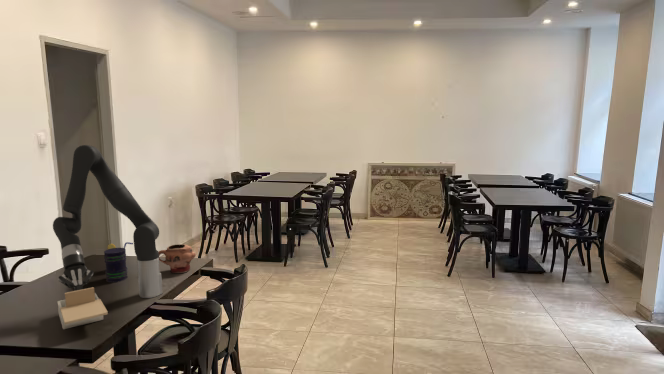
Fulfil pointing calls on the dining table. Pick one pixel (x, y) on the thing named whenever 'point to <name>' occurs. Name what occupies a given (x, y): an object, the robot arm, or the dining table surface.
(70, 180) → the robot arm
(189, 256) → the decorative planter
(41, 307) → the dining table surface
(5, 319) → the dining table surface
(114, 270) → the storage jar
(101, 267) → the dining table surface
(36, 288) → the dining table surface
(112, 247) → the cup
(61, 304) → the base
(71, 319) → the lid
